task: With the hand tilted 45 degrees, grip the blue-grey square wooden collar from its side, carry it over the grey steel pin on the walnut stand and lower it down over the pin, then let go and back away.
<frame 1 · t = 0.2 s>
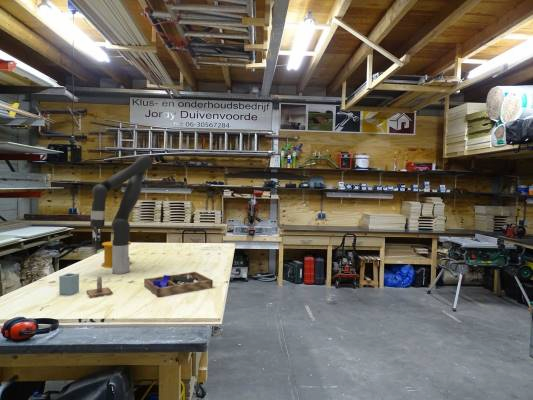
hand: (95, 245, 202), 18 cm above the table, tool pointing down, fingers open, 8 cm apart
pin stand: (99, 293, 170), on the table
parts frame: (176, 287, 183), on the table
collar: (69, 293, 170), on the table
bicycle component: (186, 286, 187), on the table
spool: (116, 264, 232), on the table
cable clip: (160, 289, 178), touching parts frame
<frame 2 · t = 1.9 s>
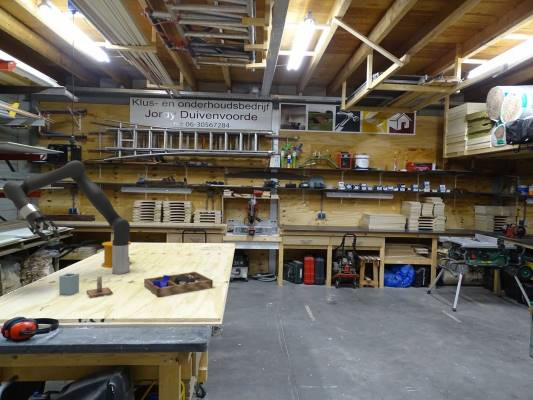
hand: (52, 238, 173), 26 cm above the table, tool tilted 45°, fingers open, 8 cm apart
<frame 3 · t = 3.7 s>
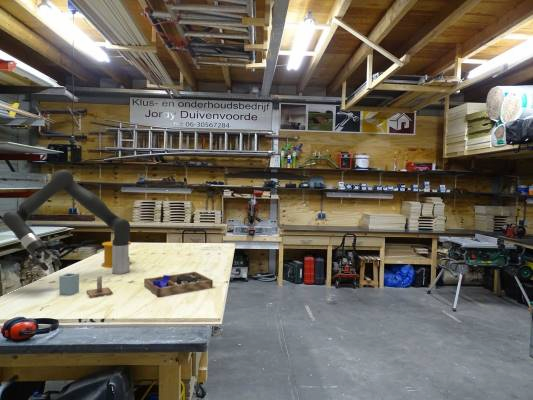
hand: (53, 267, 171), 12 cm above the table, tool tilted 45°, fingers open, 8 cm apart
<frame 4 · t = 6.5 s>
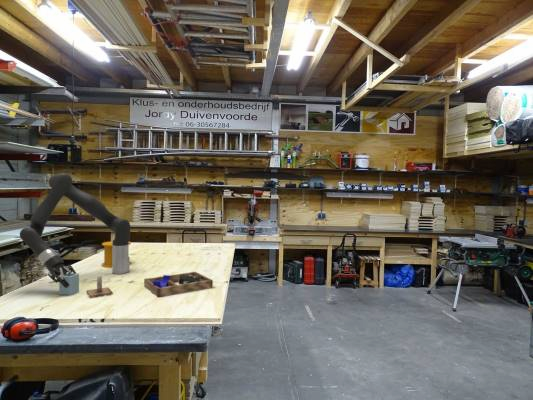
hand: (72, 284, 170), 4 cm above the table, tool tilted 45°, fingers closed on collar, 6 cm apart
collar: (69, 293, 170), on the table, touching gripper
bicycle component: (192, 285, 188), on the table
everything else where it was.
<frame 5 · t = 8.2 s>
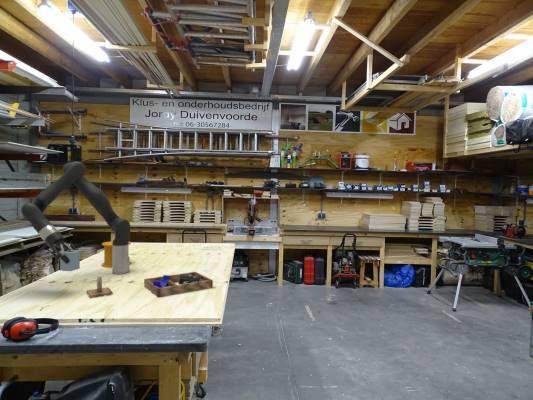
hand: (73, 261, 169), 16 cm above the table, tool tilted 45°, fingers closed on collar, 6 cm apart
collar: (69, 269, 170), point 12 cm above the table, touching gripper
cable clip: (160, 290, 178), on the table, touching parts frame
everything else where it was.
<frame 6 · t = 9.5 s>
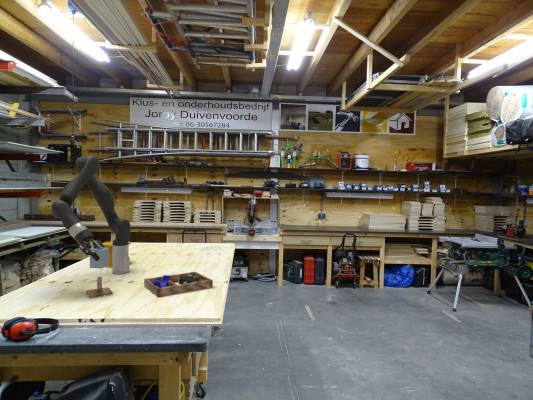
hand: (102, 258, 169), 18 cm above the table, tool tilted 45°, fingers closed on collar, 6 cm apart
collar: (99, 266, 169), point 13 cm above the table, touching gripper
bicycle component: (192, 285, 188), on the table, touching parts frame
everything else where it was.
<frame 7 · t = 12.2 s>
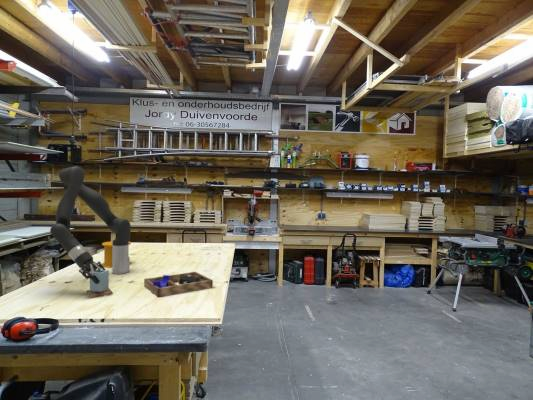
hand: (102, 281, 169), 6 cm above the table, tool tilted 45°, fingers closed on collar, 6 cm apart
collar: (99, 289, 170), point 2 cm above the table, touching gripper
bicycle component: (192, 285, 188), on the table
everything else where it was.
when the fingers open (6 cm above the table, at t = 12.5 s): collar stays where it is, resting on pin stand.
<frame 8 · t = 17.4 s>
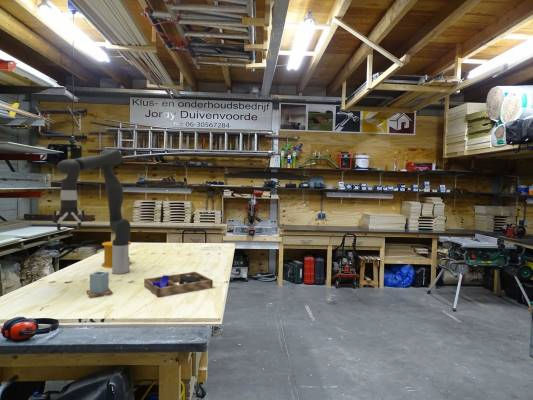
hand: (69, 230, 177), 30 cm above the table, tool pointing down, fingers open, 8 cm apart
collar: (99, 291, 170), point 1 cm above the table, touching pin stand
everything else where it was.
at the end: collar 0.1 cm off-centre on the pin stand, point 1.2 cm above the pin stand's base; collar tilted 0°; the gripper is holding nothing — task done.
